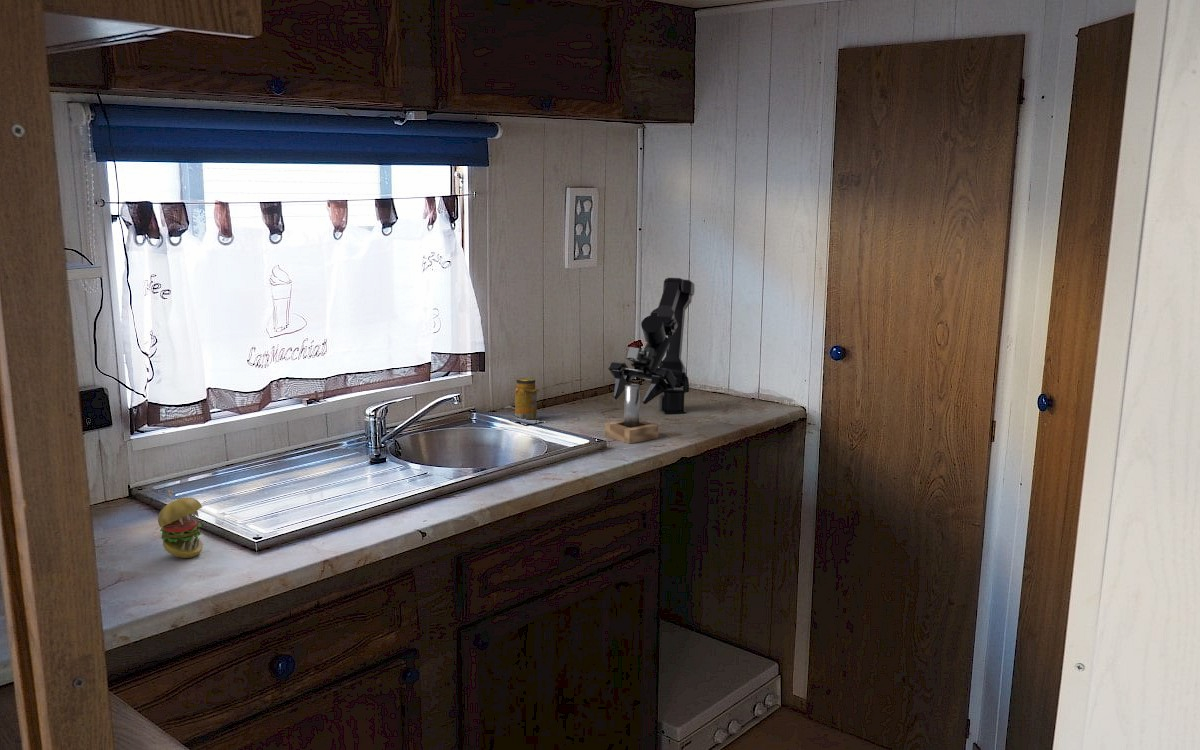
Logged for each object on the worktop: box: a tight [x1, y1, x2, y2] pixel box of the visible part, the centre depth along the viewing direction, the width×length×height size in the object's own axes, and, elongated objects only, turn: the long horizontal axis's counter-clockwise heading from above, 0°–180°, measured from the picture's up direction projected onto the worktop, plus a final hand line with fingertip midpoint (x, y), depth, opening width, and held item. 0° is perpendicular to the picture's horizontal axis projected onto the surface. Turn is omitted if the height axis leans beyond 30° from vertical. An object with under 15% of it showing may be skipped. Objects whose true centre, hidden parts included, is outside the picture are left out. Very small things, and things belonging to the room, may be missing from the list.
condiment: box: [514, 377, 546, 423], centre depth 286 cm, size 7×8×12 cm
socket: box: [604, 419, 659, 445], centre depth 271 cm, size 10×10×4 cm
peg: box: [623, 383, 641, 428], centre depth 270 cm, size 4×4×14 cm
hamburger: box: [157, 489, 204, 559], centre depth 182 cm, size 8×7×12 cm
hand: (629, 400), depth 268 cm, fingers open, 9 cm apart
